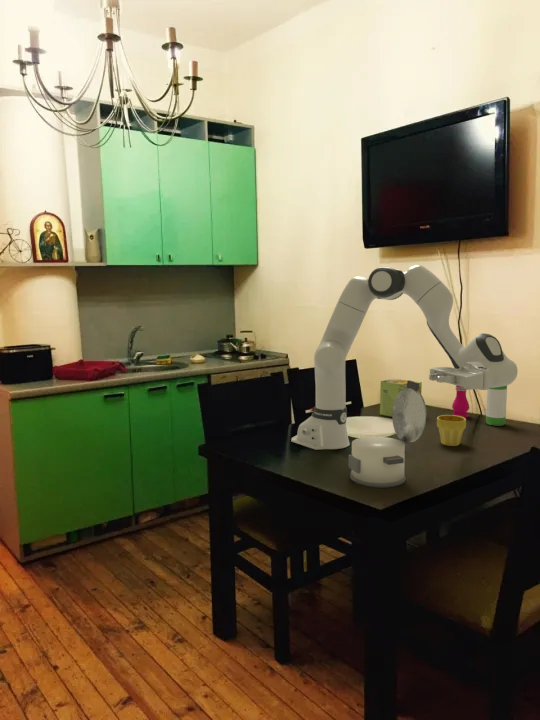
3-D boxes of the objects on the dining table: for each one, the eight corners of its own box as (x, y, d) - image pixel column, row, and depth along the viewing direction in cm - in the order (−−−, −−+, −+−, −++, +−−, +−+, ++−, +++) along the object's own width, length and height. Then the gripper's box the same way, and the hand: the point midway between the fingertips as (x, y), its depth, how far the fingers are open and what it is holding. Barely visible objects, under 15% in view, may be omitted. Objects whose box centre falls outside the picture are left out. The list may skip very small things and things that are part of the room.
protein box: (409, 420, 252) (410, 385, 249) (379, 414, 262) (379, 381, 260) (421, 415, 259) (422, 381, 257) (391, 410, 270) (392, 378, 267)
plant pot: (467, 448, 209) (468, 421, 207) (437, 446, 211) (438, 420, 209) (463, 440, 219) (464, 415, 217) (435, 439, 221) (435, 414, 219)
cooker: (387, 464, 191) (388, 432, 190) (424, 485, 171) (424, 449, 170) (337, 470, 186) (337, 437, 184) (369, 493, 166) (369, 456, 164)
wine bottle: (495, 427, 237) (498, 355, 233) (481, 423, 244) (484, 353, 240) (509, 425, 240) (512, 353, 236) (495, 421, 247) (498, 351, 243)
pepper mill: (470, 415, 257) (472, 371, 255) (466, 419, 251) (468, 373, 249) (454, 414, 261) (455, 370, 259) (450, 417, 255) (451, 372, 253)
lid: (389, 434, 187) (393, 434, 188) (417, 448, 172) (421, 448, 172) (397, 377, 186) (401, 377, 186) (426, 386, 170) (431, 386, 171)
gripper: (451, 361, 194) (415, 364, 190) (492, 370, 175) (454, 373, 170) (451, 380, 195) (415, 383, 191) (492, 390, 176) (453, 394, 171)
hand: (434, 378), depth 180 cm, fingers open, 3 cm apart
